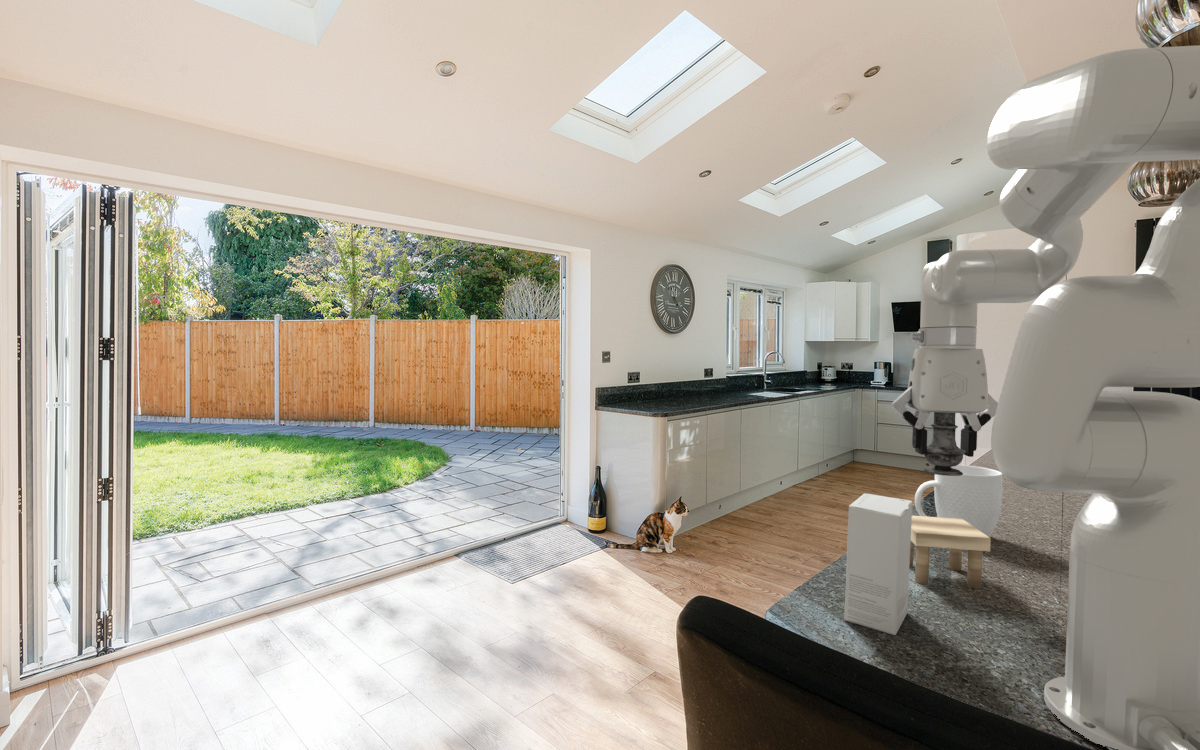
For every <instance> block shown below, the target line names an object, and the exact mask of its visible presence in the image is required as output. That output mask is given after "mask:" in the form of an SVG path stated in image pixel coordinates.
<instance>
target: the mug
mask: <svg viewBox="0 0 1200 750" xmlns="http://www.w3.org/2000/svg"><path fill="white" fill-rule="evenodd" d="M951 468H954V469H957V470H959V471H960V472H962V473H963V475H961V476H945V475H937V474H934V476H933V477H934V480H928V481H925V482H923V483H922V484H920V485H919V487H918V488H917V489H916V491H915V494H914V506H915V510H916V513H917V514H918V516H927V515H926V513H925V512H924V511H923V507H922V496H923V493H924V492H925V490H926V489H927V490H928V488H932V487H933V491H934V492H933V494H934V496H933V497H934V505H935V511H936V517H942V518H957V519H963V520H965V521H966V522H968V523H969V524H971V525H972V526H974V527H975V528H977V529H978V530H979V531H981V532H982V533H984V534H985V535H987V536H988V537H990V536H991V535H992V533H994V531H995V529H996V527H997V524H998V522H999V520H1000V515H1001V512H1002V511H1001V510H1002V503H1003V487H1004V486H1003V480H1004V479H1003V477H1004V475H1003V474H1002V473H1001V472H1000V471H999V470H996V469H992V468H988V467H983V466H977V465H968V464H958V465H957V466H953V467H951ZM927 517H929V516H927Z"/></svg>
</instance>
